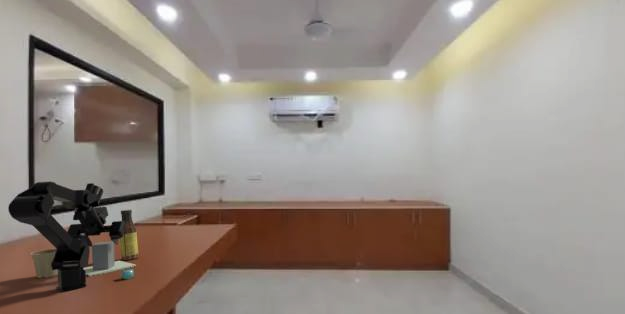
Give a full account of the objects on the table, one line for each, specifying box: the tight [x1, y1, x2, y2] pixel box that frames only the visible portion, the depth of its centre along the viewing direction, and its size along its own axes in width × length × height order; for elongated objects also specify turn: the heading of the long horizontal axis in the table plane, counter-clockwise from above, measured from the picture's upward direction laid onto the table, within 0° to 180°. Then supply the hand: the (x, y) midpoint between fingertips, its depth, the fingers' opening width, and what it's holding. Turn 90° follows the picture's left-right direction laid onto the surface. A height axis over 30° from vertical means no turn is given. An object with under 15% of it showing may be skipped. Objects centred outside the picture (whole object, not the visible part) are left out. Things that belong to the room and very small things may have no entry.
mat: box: [83, 260, 137, 277], centre depth 150 cm, size 16×14×1 cm
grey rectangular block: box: [91, 240, 116, 270], centre depth 148 cm, size 5×5×9 cm
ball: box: [120, 268, 134, 280], centre depth 134 cm, size 4×4×2 cm
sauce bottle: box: [119, 209, 139, 261], centre depth 166 cm, size 7×6×20 cm
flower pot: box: [29, 248, 58, 279], centre depth 144 cm, size 9×9×9 cm
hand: (104, 244), depth 150 cm, fingers open, 9 cm apart
